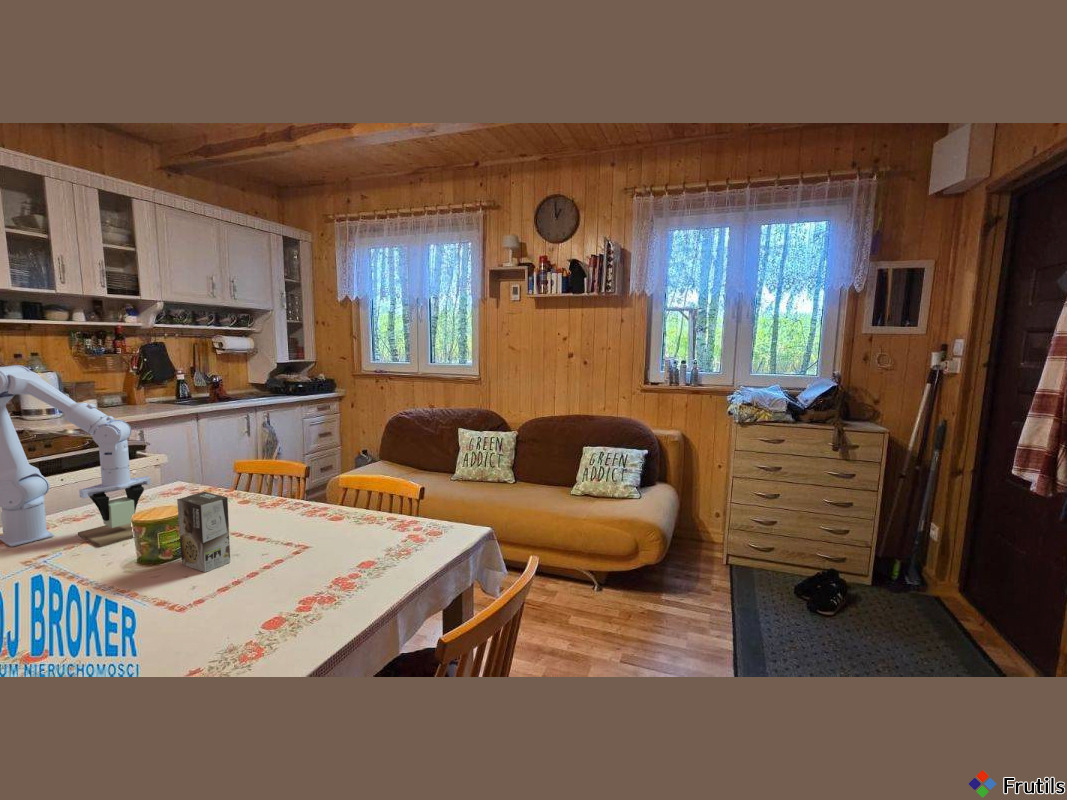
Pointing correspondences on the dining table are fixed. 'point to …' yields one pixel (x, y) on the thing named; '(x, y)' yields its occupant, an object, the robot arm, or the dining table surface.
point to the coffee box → (204, 531)
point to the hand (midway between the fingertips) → (119, 516)
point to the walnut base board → (107, 534)
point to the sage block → (120, 512)
